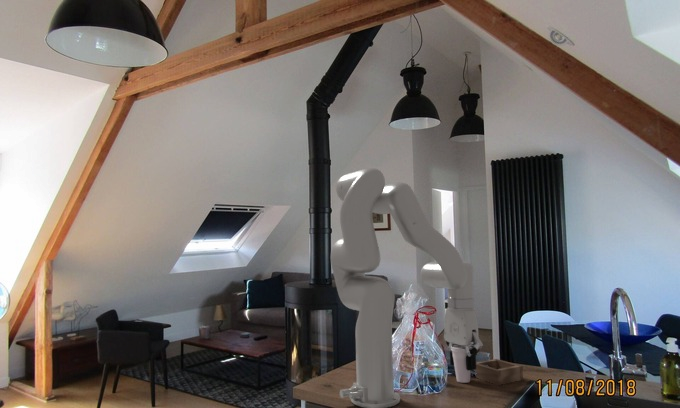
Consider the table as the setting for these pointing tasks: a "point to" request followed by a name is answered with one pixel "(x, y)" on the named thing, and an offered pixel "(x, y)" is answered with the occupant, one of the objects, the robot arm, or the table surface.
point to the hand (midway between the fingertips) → (462, 366)
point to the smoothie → (460, 363)
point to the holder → (498, 371)
